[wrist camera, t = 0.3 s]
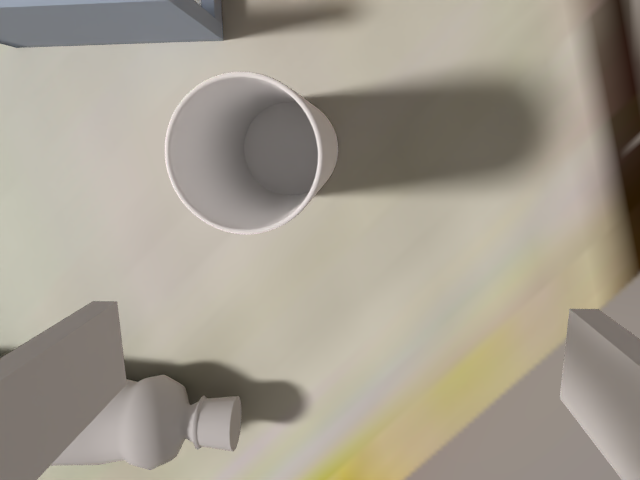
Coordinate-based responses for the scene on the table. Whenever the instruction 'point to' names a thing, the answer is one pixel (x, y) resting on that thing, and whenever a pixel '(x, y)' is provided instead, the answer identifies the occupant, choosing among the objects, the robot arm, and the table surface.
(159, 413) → the bottle
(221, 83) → the cup
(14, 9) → the cabinet
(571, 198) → the table surface
